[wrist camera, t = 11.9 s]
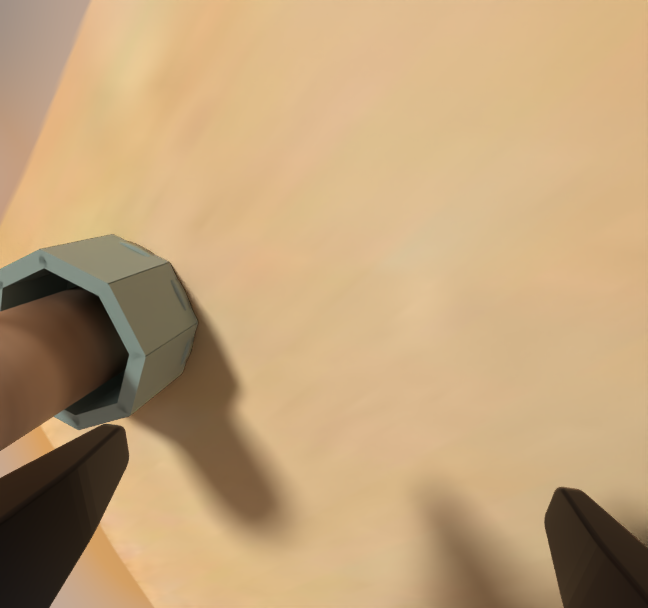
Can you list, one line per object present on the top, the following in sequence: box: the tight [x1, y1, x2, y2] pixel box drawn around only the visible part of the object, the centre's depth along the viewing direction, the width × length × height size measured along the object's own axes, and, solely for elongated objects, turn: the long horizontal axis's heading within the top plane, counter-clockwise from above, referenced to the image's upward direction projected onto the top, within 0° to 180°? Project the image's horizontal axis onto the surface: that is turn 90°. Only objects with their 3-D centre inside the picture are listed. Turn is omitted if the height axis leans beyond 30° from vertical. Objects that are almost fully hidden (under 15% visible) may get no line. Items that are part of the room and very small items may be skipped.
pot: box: [0, 234, 198, 430], centre depth 22 cm, size 9×9×4 cm
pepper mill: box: [0, 286, 129, 451], centre depth 18 cm, size 5×5×13 cm
